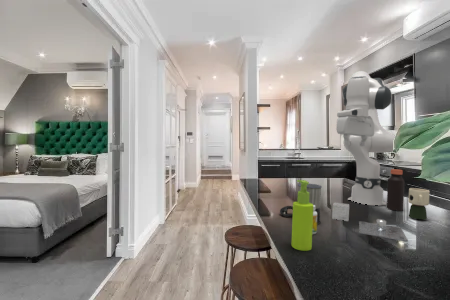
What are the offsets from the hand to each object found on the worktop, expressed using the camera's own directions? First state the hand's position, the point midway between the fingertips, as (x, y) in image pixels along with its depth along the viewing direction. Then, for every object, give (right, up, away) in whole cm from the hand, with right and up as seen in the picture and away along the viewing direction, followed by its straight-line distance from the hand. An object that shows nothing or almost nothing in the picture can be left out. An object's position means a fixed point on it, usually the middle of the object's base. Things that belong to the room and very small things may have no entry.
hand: (355, 145), depth 106 cm
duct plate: (+1, -32, -15) cm, 35 cm away
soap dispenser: (-33, -31, -31) cm, 55 cm away
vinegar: (+29, -32, +17) cm, 46 cm away
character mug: (+28, -32, +2) cm, 43 cm away
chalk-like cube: (-7, -31, -1) cm, 32 cm away
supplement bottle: (-27, -31, -19) cm, 45 cm away
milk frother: (-25, -31, -3) cm, 40 cm away
